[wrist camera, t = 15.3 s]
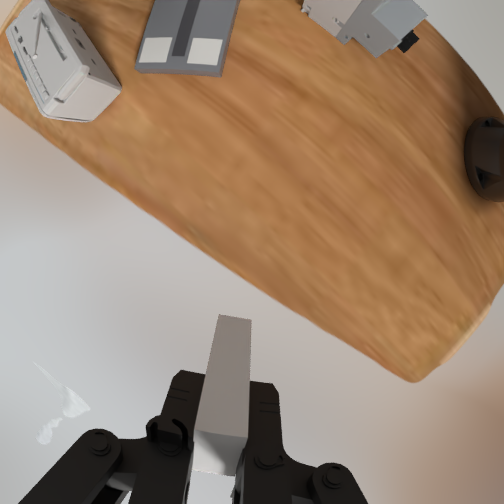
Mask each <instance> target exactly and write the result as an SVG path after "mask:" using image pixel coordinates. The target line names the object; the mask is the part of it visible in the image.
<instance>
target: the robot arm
mask: <svg viewBox="0 0 504 504" xmlns="http://www.w3.org/2000/svg"><path fill="white" fill-rule="evenodd" d="M464 157H465V165H466V170H467V174H468V177H469V180H470V182H471V184H472V186H473V188H474V189H475V191H476V192H477V193H478V194H479V195H480V196H481V197H483V198H485V199H487V200H491V201H494V202H503V201H504V120H501V119H499V118H496V117H482V118H479V119H477V120H476V121H474V122H473V124H472V125H471V126H470V128H469V130H468V133H467V136H466V140H465V148H464ZM250 353H251V320H250V319H243V318H237V317H231V316H226V315H220V314H219V316H218V321H217V326H216V330H215V334H214V339H213V343H212V348H211V353H210V357H209V362H208V366H207V371H206V375H205V374H200V373H194V372H190V371H185V370H180V371H179V373H177V374H176V375H175V376H174V377H173V379H172V382H171V385H170V388H169V391H168V394H167V397H166V400H165V402H164V405H163V409H162V412H161V415H159V416H155V417H154V418H152V419H151V420H149V422H148V423H147V425H146V433H147V436H146V437H144V438H140V439H118V438H117V437H116V436H115V435H114V434H113V433H111V432H110V431H107V430H104V429H92V430H88V431H87V432H85V433H84V434H83V435H82V436H81V437H80V438H79V439H78V440H77V441H76V442H75V443H74V444H73V445H72V446H71V447H70V448H69V450H68V451H67V452H66V453H65V454H64V455H63V456H62V457H61V458H60V459H59V460H58V461H57V462H56V464H55V465H54V466H53V467H52V468H51V469H50V470H49V471H48V472H47V473H46V474H45V475H44V476H43V477H42V479H41V480H40V481H39V482H38V483H37V484H36V485H35V486H34V487H33V488H32V489H31V491H29V493H28V494H27V495H26V496H25V497H24V498H23V499H22V500H21V501H20V502H19V503H18V504H121V502H122V501H123V499H124V498H125V496H126V495H127V493H128V492H129V491H132V493H131V496H130V499H129V503H128V504H187V498H188V491H189V486H190V477H191V471H192V470H194V471H200V472H206V473H212V474H219V475H227V476H235V474H236V478H235V486H234V488H233V491H232V494H231V497H232V504H368V503H367V501H366V499H365V497H364V495H363V493H362V491H361V490H360V488H359V486H358V484H357V482H356V480H355V479H354V477H353V475H352V473H351V472H350V471H349V470H348V468H346V467H345V466H343V465H341V464H337V463H325V464H323V465H320V466H319V467H318V468H316V467H313V466H309V465H305V464H302V463H299V462H297V461H295V460H293V459H292V458H290V457H289V456H288V455H287V454H286V452H285V450H284V448H283V443H282V429H281V417H280V406H279V404H280V403H279V393H278V391H277V390H276V388H275V387H274V385H273V384H272V383H271V384H270V383H263V382H255V381H250Z"/></svg>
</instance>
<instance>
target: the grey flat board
mask: <svg viewBox="0 0 504 504" xmlns="http://www.w3.org/2000/svg"><path fill="white" fill-rule="evenodd" d="M239 2H240V0H155V3H154V5H153V8H152V11H151V14H150V17H149V20H148V23H147V26H146V29H145V32H144V36H143V39H142V42H141V46H140V50H139V53H138V57H137V61H136V65H135V70H137V71H138V72H140V73H165V74H187V75H201V76H212V77H222V72H223V67H224V63H225V59H226V54H227V50H228V46H229V41H230V37H231V33H232V29H233V25H234V21H235V17H236V14H237V10H238V6H239Z"/></svg>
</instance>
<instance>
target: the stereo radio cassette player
mask: <svg viewBox="0 0 504 504" xmlns="http://www.w3.org/2000/svg"><path fill="white" fill-rule="evenodd" d="M6 35H7V38H8V41H9V43H10V46H11V48H12V51H13V53H14V56H15V58H16V61H17V63H18V66H19V68H20V70H21V73H22V75H23V77H24V80H25V82H26V84H27V86H28V88H29V90H30V93H31V95H32V97H33V99H34V101H35V103H36V105H37V107H38V109H39V111H40V113H41V114H42V115H43V116H44V117H47V118H51V119H58V120H65V121H74V122H90V121H93V120H94V119H95V118H96V117H97V116H98V115H99V114H100V113H101V112H103V111H104V109H105V108H106V107H107V106H108V105H109V104H110V103H111V102H112V101H113V100H114V99H115V98H116V97H117V96H118V95H119V94H120V92H121V89H122V86H121V85H120V84H119V82H118V81H117V79H116V78H115V76H114V75H113V73H112V72H111V70H110V69H109V67H108V66H107V64H106V63H105V61H104V60H103V58H102V57H101V55H100V54H99V53H98V51H97V50H96V48H95V47H94V45H93V44H92V42H91V41H90V39H89V38H88V36H87V35H86V33H85V32H84V30H83V29H82V27H81V26H80V24H79V23H78V22H76V21H75V19H73V18H71V17H70V16H68V15H66V14H65V13H63V12H61V11H60V10H58V9H56V8H55V7H53V6H52V5H51V4H50V2H49V0H32V1H31V2H30V3H29V4H28V5H27V6H26V7H25V8H24V9H23V10H22V11H21V12H20V14H19V16H18V17H17V18H15V20H14V21H13V22H12V23H11V24H10V25H9V27H8V28H7V30H6Z"/></svg>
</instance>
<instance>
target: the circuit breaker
mask: <svg viewBox="0 0 504 504" xmlns="http://www.w3.org/2000/svg"><path fill="white" fill-rule="evenodd" d="M302 7H303V9H302V10H301V12H306V13H308V14H309V15H308V17H310V18H311V19H312V20H314V21H315V22H316V23H318V24H319V25H320V26H322V27H323V28H324V29H325V30H327V31H328V32H329V33H330V34H332V35H333V36H334V37H336V38H337V39H338V40H339V41H340V42H341V43H342V44H344V45H345V44H346V43H347V42H348V41H349V40H350V39H351V38H355V39H356V40H357V41H358V42H359V43H360V44H361V45H362V46H364V47H365V48H366V49H367V50H368V51H369V52H370V53H371V54H372V55H373V56H374V57H375V58H377V57H379V56H380V55H381V54H383V53H384V52H385V51H387V50H388V49H389V48H390V49H391V50H393V49H394V48H395V47H396V46H397V47H398V48H399V49H400V50H401V51H402V52H403V53H405V52H406V51H407V50H408V49H409V48H410V47H411V46H412V45H413V44H414V43H416V42H417V41H418V40H419V38H418V37H417V36H416V35H415V34H414V33H413V30H412V29H413V28H414V27H415V26H417V25H418V24H419V23H420V22H421V21H422V20H423V19H425V18H426V17H427V16H428V15H427V14H426V13H425V12H424V10H422V9H421V8H420V7H419V6H418V5H417V4H416V3H415V2H414V1H413V0H304V3H303V6H302Z"/></svg>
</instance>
